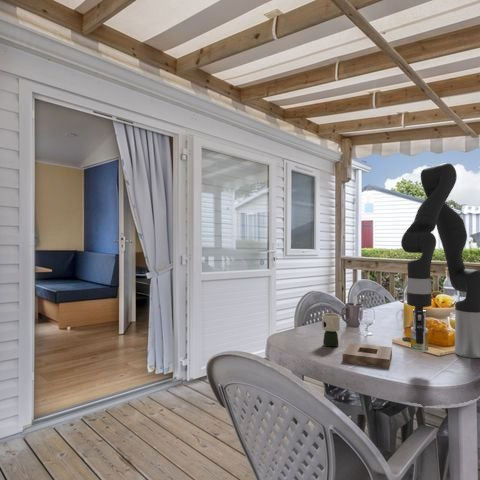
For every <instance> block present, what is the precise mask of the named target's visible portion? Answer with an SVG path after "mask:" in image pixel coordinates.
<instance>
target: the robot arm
mask: <svg viewBox="0 0 480 480" xmlns="http://www.w3.org/2000/svg"><path fill="white" fill-rule="evenodd" d="M457 176H458V175H457V169H456V168H455V167H454V165H453V164H452V163H449V162H448V163H447V162H446V163H441V164H436V165H432V166H428V167H426V168H425V167H424V168H423V169H422V170H421V172H420V182H421V185H422V188H423V191H424V194H425V197H426V199H425V200H424V201H423V202H422V203H421V204H420V206H419V207H418V209H417V212H416V215H415V217H414V220H413V221H412V223H411V224H410V226H409V227H408V228H407V229H406V230H405V232H404V234H403V235H402V237H401V242H400V244H401V248H402V250H403V251H404V252H406V253H409V254H421V256H420V258H419V259H412V260H409V261H408V262H407V268H406V269H407V278H406V279H407V281H406V304H407V305H408V306H410V307H414V309H412V316H413V321H414V325H415V326H416V329H415V331H416V343H417V344H423V333H424V326H425V322H426V317H427V313H426V312H427V311H426V310H424V308H428V307H429V308H430V307H431V306H432V305H433V304H432V282H431V281H432V280H431V265H432V260H433V257H434V253H435V250H436V246H437V238H436V236H435V235H434V234H433V232H434V231H435V229H437V233H438V236H439V239H440V242H441V245H442V249H443V252H444V256H445V261H446V267H447V271H448V272H447V273H448V276H449V277H448V278H449V282H450V285H451V287H452V289H454V290H455V291H457V292H460V293H466V294H465V298H464V299H462V300H458V301H456V302H455V306H454V354H456V355H457V356H460V357H464V358H471V359H480V270H479V269H472V268H466V267H465V264H464V260H463V252H464V249H465V247H466V244H467V240H468V232H467V228H466V225H465V222H464V219H463V218H462V217H461V215H460V214H459V213H458V212H457V211H456V210H454V209H453V208H452V207H451V206H450V205H449V204H447V200H448V198H449V196H450V194H451V192H452V191H453V189H454V186H455V184H456V182H457ZM415 320H416V321H415ZM414 325H413V326H414ZM418 325H419V326H422V328H417V326H418ZM425 327H426V326H425Z"/></svg>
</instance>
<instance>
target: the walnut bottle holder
mask: <svg viewBox="0 0 480 480" xmlns="http://www.w3.org/2000/svg"><path fill="white" fill-rule="evenodd" d="M392 356H393V347H390V346H381V345H374V344H365V343H355V342H348V344H347V346H346V347H345V349H344V351H343V352H342V363H349V364H356V365H361V366H362V365H363V366H370V367H378V368H386V369H390V367H391V361H392Z"/></svg>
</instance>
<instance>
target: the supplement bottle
mask: <svg viewBox="0 0 480 480" xmlns="http://www.w3.org/2000/svg"><path fill="white" fill-rule="evenodd" d="M415 321H416V320H415ZM412 325H413V326H411V327H410V349H411V350H412V351H414V352H418V353H425V352H426V353H427V352H428V351H429V329H428V328H427V327H426V326H427V323H426V321H425V326H424V333H423V344H417V343H416V331H415V329H416V326H415V325H414V320H412ZM417 328H422V326H419V325H418V326H417Z"/></svg>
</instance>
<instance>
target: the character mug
mask: <svg viewBox="0 0 480 480" xmlns="http://www.w3.org/2000/svg"><path fill="white" fill-rule="evenodd" d="M321 316H322V317H321V318H322V323H321V325H322V327H321V328H322V330H323V331H325V332H324V335H323V342H322V343H323V345H324V346H326V347H330V348H332V347H334V346H335V347H336V346H339V336H338V332H339V331H340V324H341V323H340V321H341V320H340V319H341V318H340V316H341V315H340V314H338V313H333V312H329V313H322V315H321Z"/></svg>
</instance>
